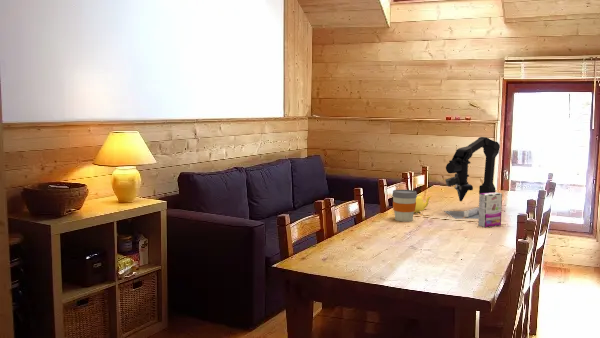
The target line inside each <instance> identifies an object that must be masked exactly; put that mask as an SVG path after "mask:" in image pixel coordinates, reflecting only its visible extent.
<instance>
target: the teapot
mask: <svg viewBox="0 0 600 338" xmlns="http://www.w3.org/2000/svg"><path fill="white" fill-rule="evenodd" d="M431 197H432V195H429V196H427V197H426V199H425V201H424V199H423V197H422V196H421V195H417V198H416V207H415V211H414V214H421V213H422V212H423V211H425V209H426V208H427V207H428V206H429V202H430V201H429V200H430V198H431Z"/></svg>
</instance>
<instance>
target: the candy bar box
mask: <svg viewBox="0 0 600 338" xmlns="http://www.w3.org/2000/svg"><path fill="white" fill-rule="evenodd" d="M478 195H479V196H478V197H479V199H478V208H479V219H478V220H477V222H478V223H477V225H478V226H479V227H482V228H493V227H500V226H501V225H502V211H503V210H502V208H503V205H502V204H503V193H502V192H498V191H497V192H496V191H495V192H493V193H483V194H479V193H478Z"/></svg>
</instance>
